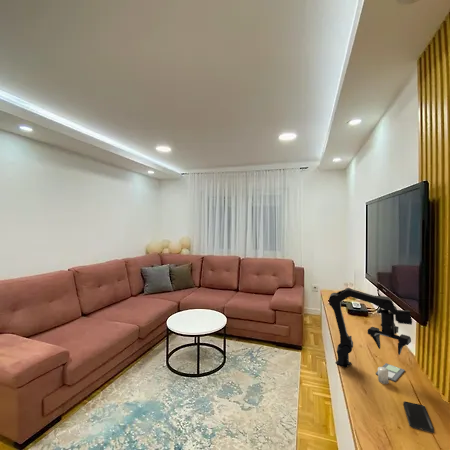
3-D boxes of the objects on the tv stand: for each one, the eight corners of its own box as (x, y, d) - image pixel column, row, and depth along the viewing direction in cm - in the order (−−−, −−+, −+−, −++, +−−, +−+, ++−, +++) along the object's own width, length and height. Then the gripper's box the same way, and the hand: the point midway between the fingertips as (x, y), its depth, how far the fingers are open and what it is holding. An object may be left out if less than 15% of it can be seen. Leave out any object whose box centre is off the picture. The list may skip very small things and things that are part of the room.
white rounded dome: (386, 385, 125) (386, 372, 125) (376, 381, 128) (376, 369, 128) (390, 381, 128) (389, 369, 128) (380, 377, 131) (379, 365, 131)
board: (395, 381, 127) (395, 380, 127) (375, 374, 134) (375, 372, 134) (404, 370, 136) (404, 369, 136) (385, 364, 143) (385, 362, 143)
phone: (424, 405, 109) (434, 431, 96) (424, 408, 109) (435, 434, 96) (402, 400, 113) (409, 425, 99) (402, 403, 113) (409, 428, 99)
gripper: (413, 322, 133) (415, 352, 133) (374, 313, 147) (376, 341, 147) (406, 328, 126) (408, 360, 126) (366, 318, 140) (367, 347, 140)
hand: (389, 351), depth 135 cm, fingers open, 9 cm apart
